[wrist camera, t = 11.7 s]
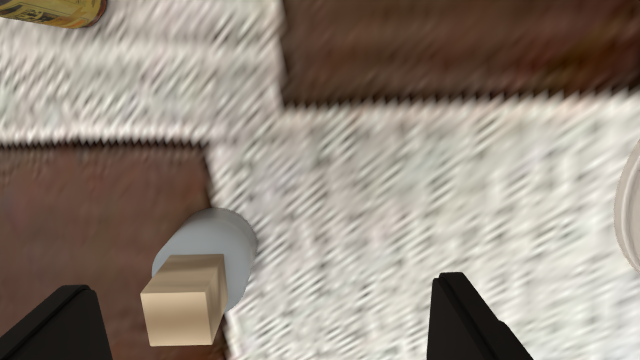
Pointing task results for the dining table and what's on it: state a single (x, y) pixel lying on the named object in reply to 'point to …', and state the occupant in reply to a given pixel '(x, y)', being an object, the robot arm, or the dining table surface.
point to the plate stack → (629, 209)
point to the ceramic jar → (216, 246)
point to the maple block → (186, 300)
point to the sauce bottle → (54, 11)
